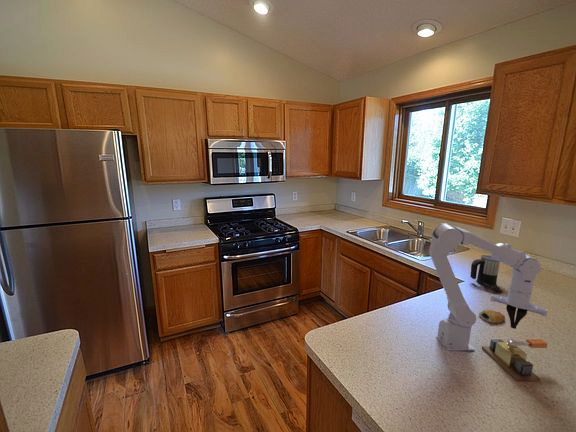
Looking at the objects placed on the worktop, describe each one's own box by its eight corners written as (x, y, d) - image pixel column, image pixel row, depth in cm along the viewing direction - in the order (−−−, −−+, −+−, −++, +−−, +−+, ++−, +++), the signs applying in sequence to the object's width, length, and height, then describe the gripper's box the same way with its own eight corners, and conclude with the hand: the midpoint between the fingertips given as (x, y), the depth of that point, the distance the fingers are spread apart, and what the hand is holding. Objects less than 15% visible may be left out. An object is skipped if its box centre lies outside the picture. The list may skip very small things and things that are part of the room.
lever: (511, 348, 88) (512, 343, 88) (504, 343, 91) (505, 338, 91) (547, 348, 89) (548, 343, 89) (539, 343, 91) (540, 338, 91)
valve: (518, 376, 84) (521, 360, 83) (486, 348, 97) (489, 334, 96) (534, 376, 85) (537, 360, 84) (500, 348, 97) (503, 334, 96)
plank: (517, 380, 83) (517, 378, 83) (481, 348, 98) (482, 346, 98) (539, 380, 84) (540, 378, 84) (500, 348, 98) (501, 346, 98)
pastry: (494, 314, 122) (496, 306, 121) (509, 322, 115) (511, 314, 115) (476, 316, 120) (478, 308, 119) (491, 325, 113) (493, 316, 113)
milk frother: (484, 278, 159) (488, 254, 157) (513, 290, 145) (518, 263, 142) (465, 281, 155) (469, 256, 152) (494, 294, 140) (499, 266, 138)
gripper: (550, 293, 90) (542, 331, 93) (495, 280, 100) (489, 314, 103) (549, 300, 85) (541, 340, 88) (492, 285, 95) (486, 322, 98)
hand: (513, 327), depth 95 cm, fingers closed
